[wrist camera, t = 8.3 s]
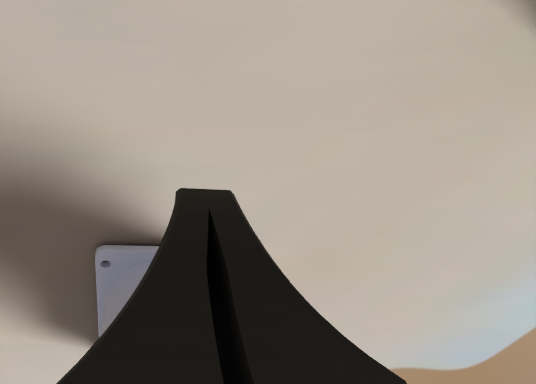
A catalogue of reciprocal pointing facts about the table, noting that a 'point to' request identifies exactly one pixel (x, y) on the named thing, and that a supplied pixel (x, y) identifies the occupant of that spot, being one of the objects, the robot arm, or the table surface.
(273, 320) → the robot arm
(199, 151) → the table surface
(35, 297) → the table surface
